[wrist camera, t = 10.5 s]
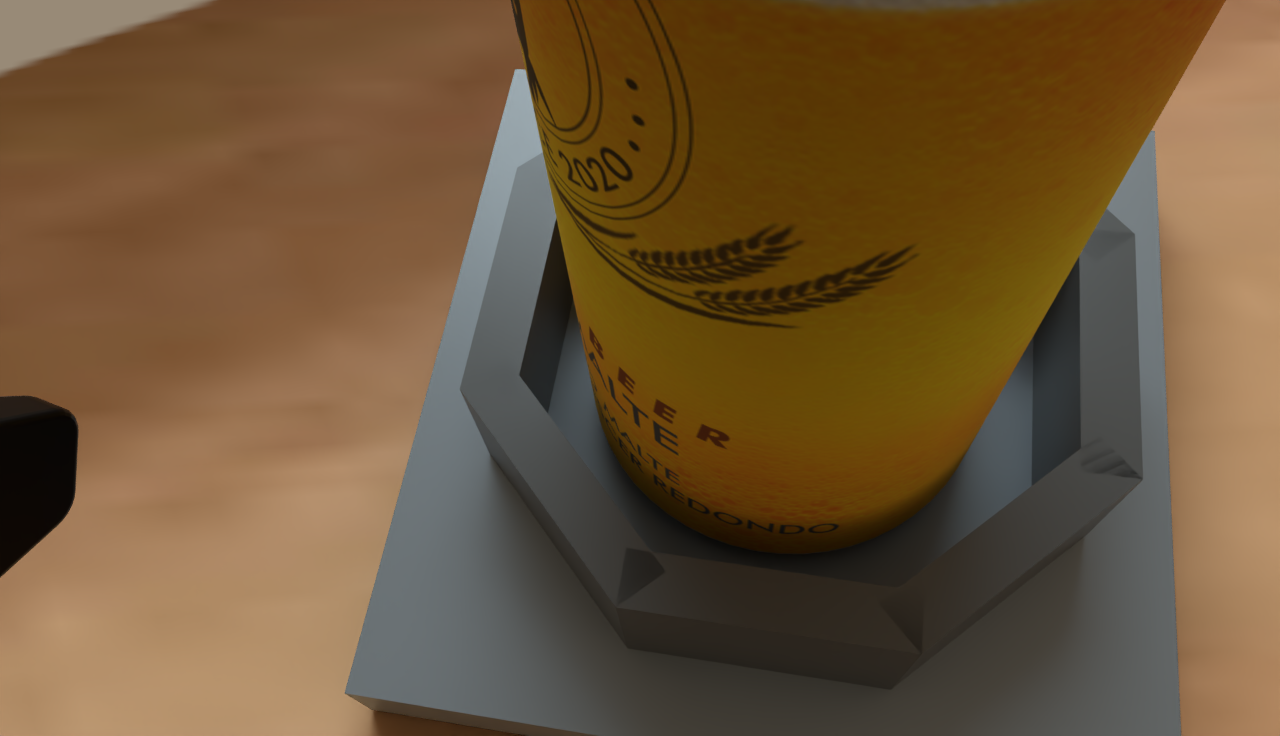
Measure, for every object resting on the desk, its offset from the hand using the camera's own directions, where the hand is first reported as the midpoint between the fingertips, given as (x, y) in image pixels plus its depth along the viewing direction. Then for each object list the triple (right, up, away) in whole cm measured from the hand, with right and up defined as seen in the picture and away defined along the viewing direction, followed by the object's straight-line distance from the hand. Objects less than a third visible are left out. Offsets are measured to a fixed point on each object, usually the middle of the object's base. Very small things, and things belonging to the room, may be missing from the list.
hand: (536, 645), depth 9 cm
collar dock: (+3, +1, +11) cm, 11 cm away
